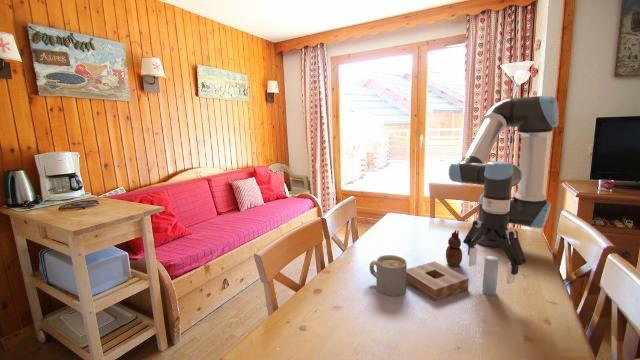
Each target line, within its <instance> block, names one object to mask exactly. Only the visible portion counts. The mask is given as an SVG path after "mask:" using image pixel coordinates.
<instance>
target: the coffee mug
mask: <svg viewBox="0 0 640 360" xmlns="http://www.w3.org/2000/svg"><path fill="white" fill-rule="evenodd" d="M407 265H408V263H407V260H406V259H405V258H403V257H401V256H398V255H393V254H386V255H381V256H379V257H377V259H375V260H374V259H373V260H372V261H370V263H369V271H370V274H371V276H373V277H374V278H375V279H376V283H375V284H376V286H375V287H376V290H377V291H378V293H380V294H382V295H385V296H389V297H397V296H398V297H399V296H401V295H403V294H405V293H406V292H407V291H406V290H407V283H406V269H408V268H407ZM374 266H375V267H376V270H375V267H374Z"/></svg>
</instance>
